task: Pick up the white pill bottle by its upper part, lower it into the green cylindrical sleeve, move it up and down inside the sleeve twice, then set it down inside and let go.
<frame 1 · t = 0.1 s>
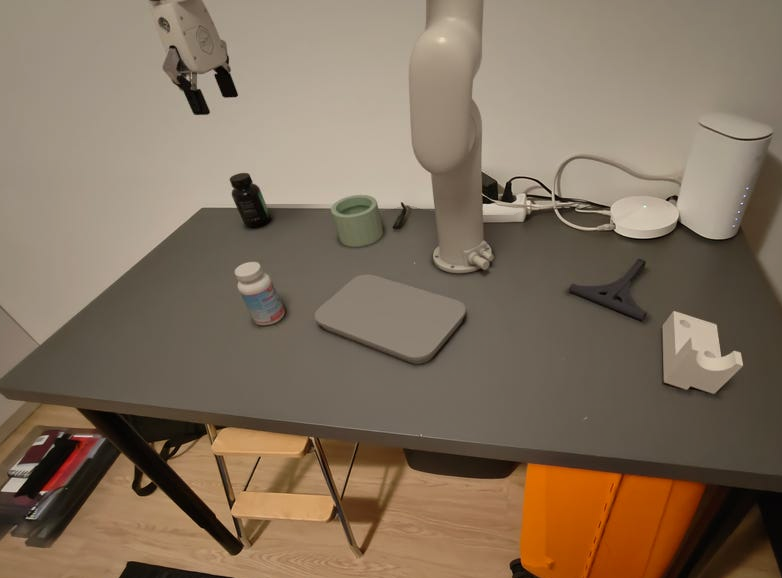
hand: (217, 105, 86), 31 cm above the table, tool pointing down, fingers open, 9 cm apart
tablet: (391, 321, 86), on the table
bracket 2: (691, 361, 72), on the table
green cylindrical sleeve: (361, 235, 109), on the table
bracket: (623, 288, 87), on the table
supplement bottle: (258, 223, 119), on the table
pill bottle: (270, 317, 90), on the table
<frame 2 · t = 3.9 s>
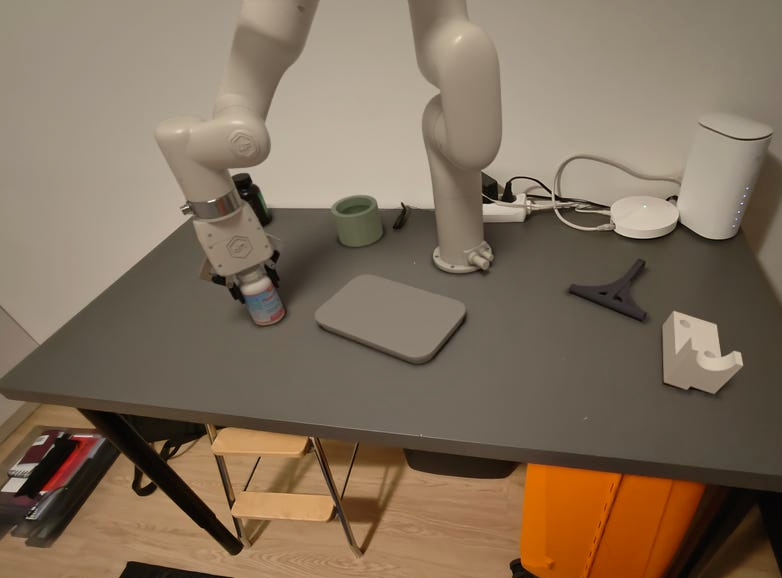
hand: (258, 292, 86), 6 cm above the table, tool pointing down, fingers closed on pill bottle, 6 cm apart
pill bottle: (270, 317, 90), on the table, touching gripper
everything else where it was.
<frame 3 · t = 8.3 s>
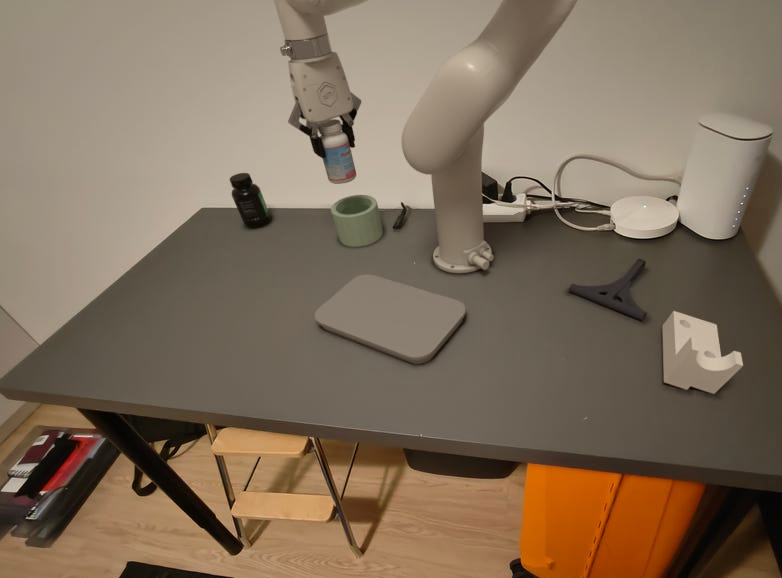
hand: (335, 150, 94), 20 cm above the table, tool pointing down, fingers closed on pill bottle, 6 cm apart
pill bottle: (343, 179, 99), point 14 cm above the table, touching gripper
everything else where it was.
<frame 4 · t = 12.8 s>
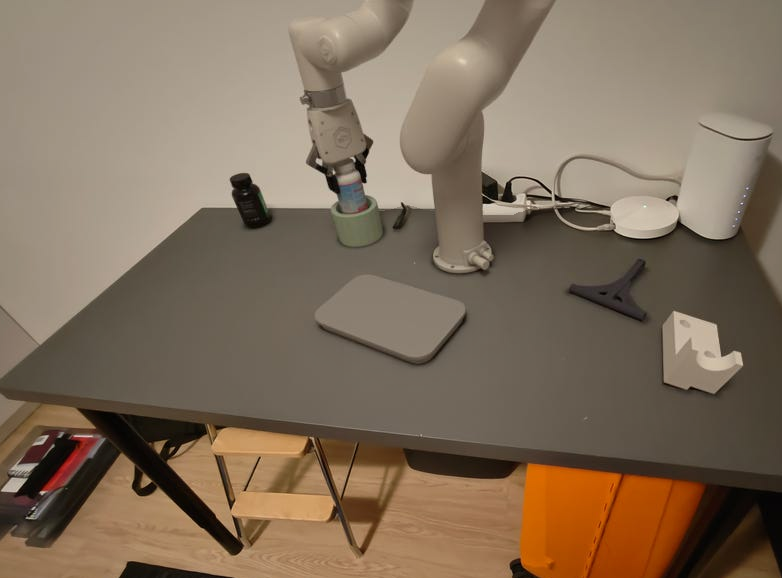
hand: (349, 186, 101), 12 cm above the table, tool pointing down, fingers closed on pill bottle, 6 cm apart
pill bottle: (355, 212, 105), point 6 cm above the table, touching gripper
everything else where it was.
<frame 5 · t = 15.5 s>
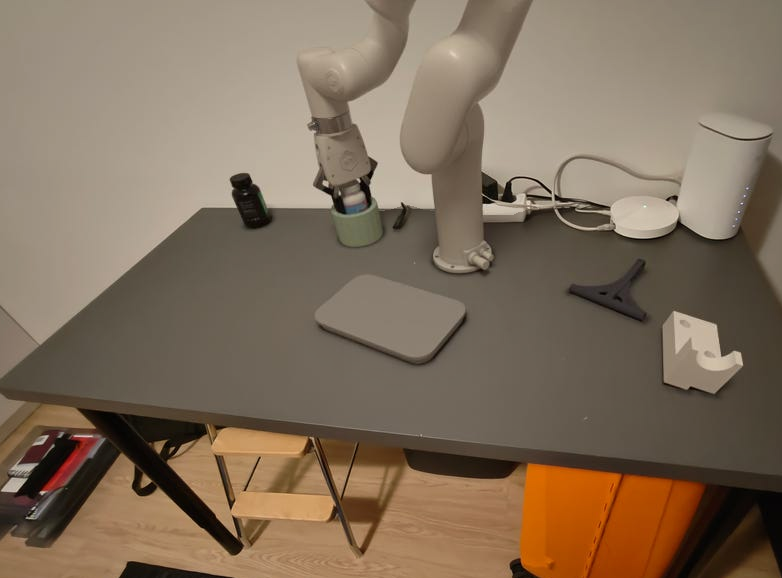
hand: (354, 205, 104), 7 cm above the table, tool pointing down, fingers closed on pill bottle, 6 cm apart
pill bottle: (360, 230, 109), point 1 cm above the table, touching gripper
everything else where it was.
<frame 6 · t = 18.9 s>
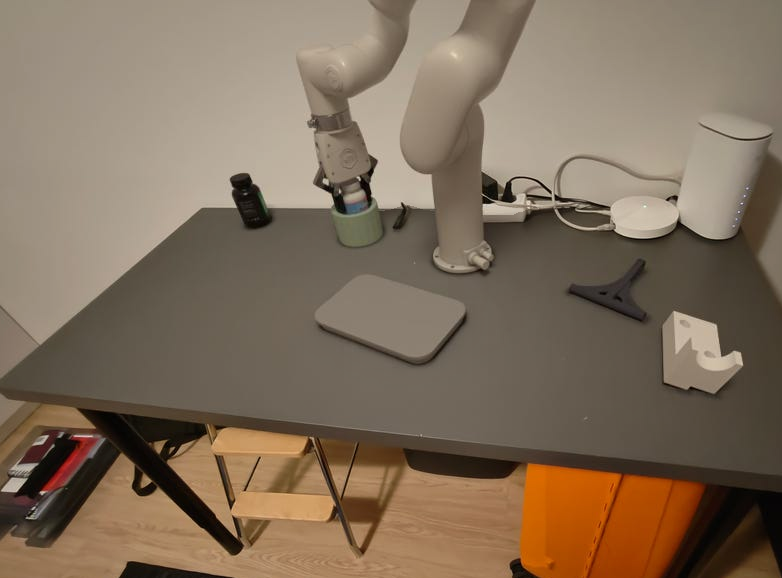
hand: (354, 204, 104), 8 cm above the table, tool pointing down, fingers closed on pill bottle, 6 cm apart
pill bottle: (360, 228, 108), point 2 cm above the table, touching gripper
everything else where it was.
when the fingers open (8 cm above the table, at t = 22.1 s): pill bottle drops 1 cm, resting on green cylindrical sleeve.
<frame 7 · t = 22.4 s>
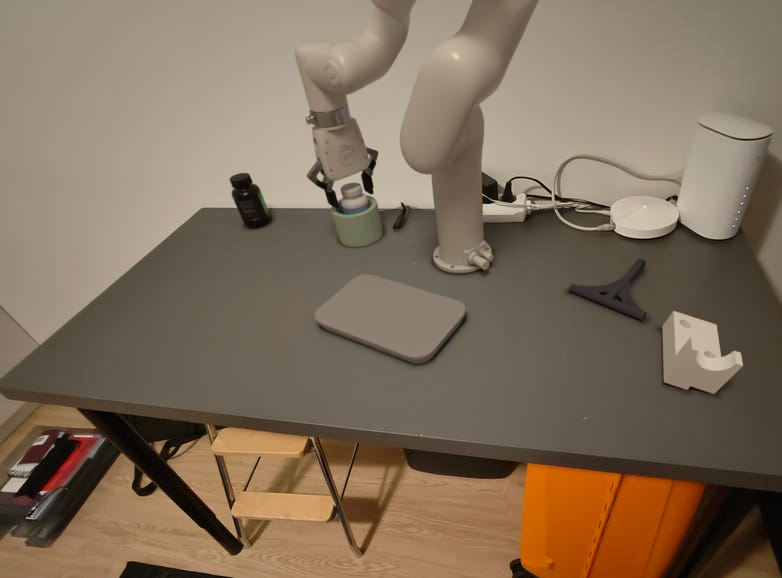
hand: (352, 199, 103), 9 cm above the table, tool pointing down, fingers open, 8 cm apart
pill bottle: (362, 233, 109), resting on green cylindrical sleeve
everything else where it was.
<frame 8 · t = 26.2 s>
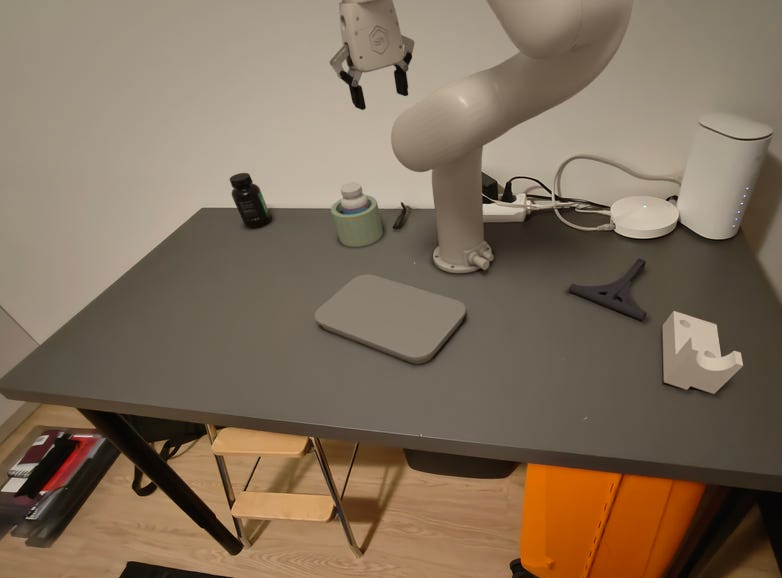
hand: (382, 101, 88), 28 cm above the table, tool pointing down, fingers open, 9 cm apart
nothing on the table moved.
at the end: pill bottle 0.4 cm off-centre in the green cylindrical sleeve, point 0.4 cm above the green cylindrical sleeve's base; pill bottle tilted 0°; the gripper is holding nothing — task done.
